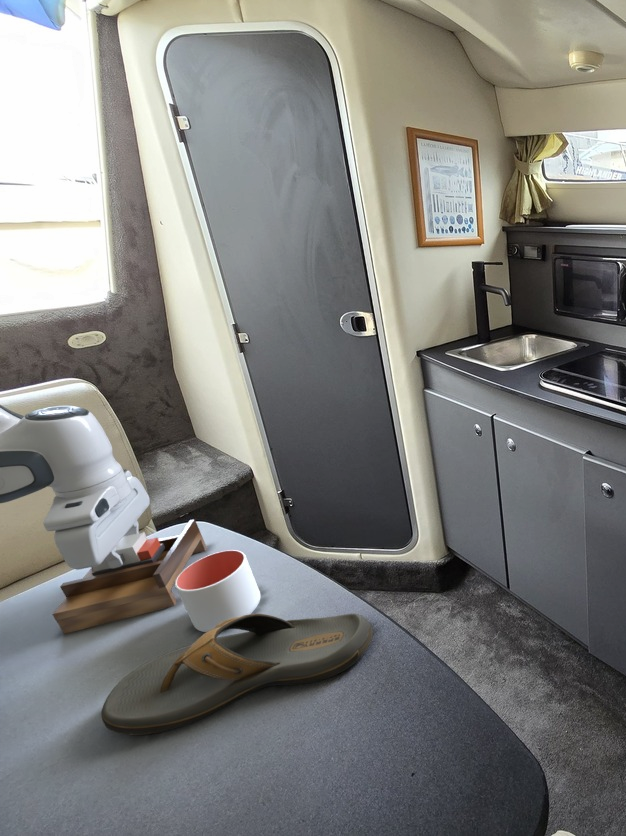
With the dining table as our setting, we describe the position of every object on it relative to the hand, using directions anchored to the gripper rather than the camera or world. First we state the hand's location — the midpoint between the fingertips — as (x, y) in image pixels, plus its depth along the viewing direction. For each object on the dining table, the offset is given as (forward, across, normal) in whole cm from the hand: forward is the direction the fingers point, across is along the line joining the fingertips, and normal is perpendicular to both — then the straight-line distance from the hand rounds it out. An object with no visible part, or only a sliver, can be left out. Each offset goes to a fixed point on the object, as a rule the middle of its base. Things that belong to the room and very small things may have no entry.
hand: (126, 554), depth 92 cm
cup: (+8, +14, +18) cm, 24 cm away
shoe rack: (+8, 0, 0) cm, 8 cm away
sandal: (+8, +31, +26) cm, 41 cm away
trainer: (+2, 0, 0) cm, 2 cm away
